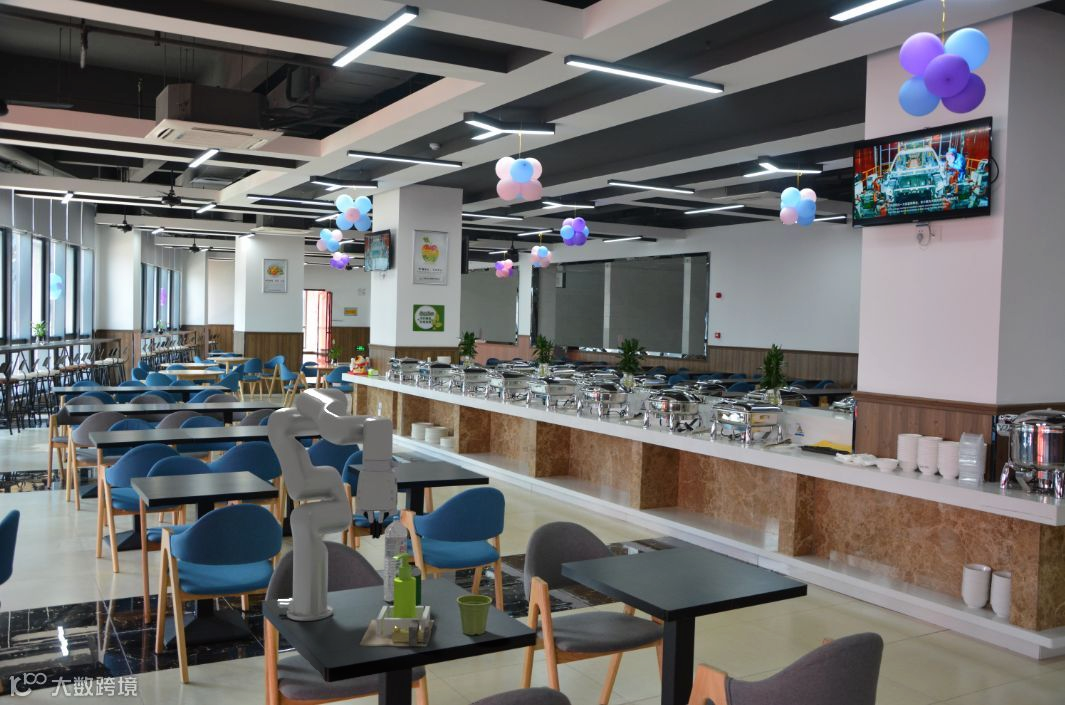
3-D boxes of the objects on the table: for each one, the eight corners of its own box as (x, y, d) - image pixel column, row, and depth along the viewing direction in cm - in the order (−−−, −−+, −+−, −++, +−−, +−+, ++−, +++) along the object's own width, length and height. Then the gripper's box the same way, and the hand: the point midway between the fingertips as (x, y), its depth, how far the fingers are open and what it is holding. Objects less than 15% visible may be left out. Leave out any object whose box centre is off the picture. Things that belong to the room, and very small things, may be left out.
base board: (358, 647, 213) (359, 627, 213) (372, 621, 234) (372, 602, 234) (427, 647, 214) (427, 627, 214) (434, 621, 235) (435, 603, 235)
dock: (376, 634, 222) (376, 619, 222) (383, 620, 234) (383, 605, 234) (425, 634, 222) (425, 619, 222) (429, 620, 234) (430, 606, 234)
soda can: (423, 605, 249) (424, 565, 249) (417, 613, 242) (418, 571, 242) (398, 604, 250) (399, 564, 250) (392, 612, 243) (392, 570, 243)
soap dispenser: (385, 629, 226) (386, 554, 226) (403, 622, 232) (404, 549, 232) (402, 633, 223) (403, 557, 223) (419, 626, 229) (420, 553, 229)
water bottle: (399, 595, 260) (400, 513, 260) (410, 600, 254) (411, 517, 255) (379, 599, 255) (380, 516, 255) (390, 604, 250) (392, 520, 250)
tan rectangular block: (392, 641, 215) (392, 628, 215) (393, 638, 218) (393, 625, 218) (423, 642, 216) (423, 628, 216) (424, 638, 218) (424, 625, 218)
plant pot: (468, 624, 233) (468, 592, 233) (497, 629, 229) (498, 597, 229) (449, 633, 225) (450, 601, 225) (479, 639, 220) (480, 606, 220)
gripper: (408, 464, 221) (407, 534, 220) (350, 463, 220) (349, 534, 220) (404, 468, 213) (403, 541, 213) (345, 467, 213) (344, 540, 213)
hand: (376, 537), depth 217 cm, fingers closed
